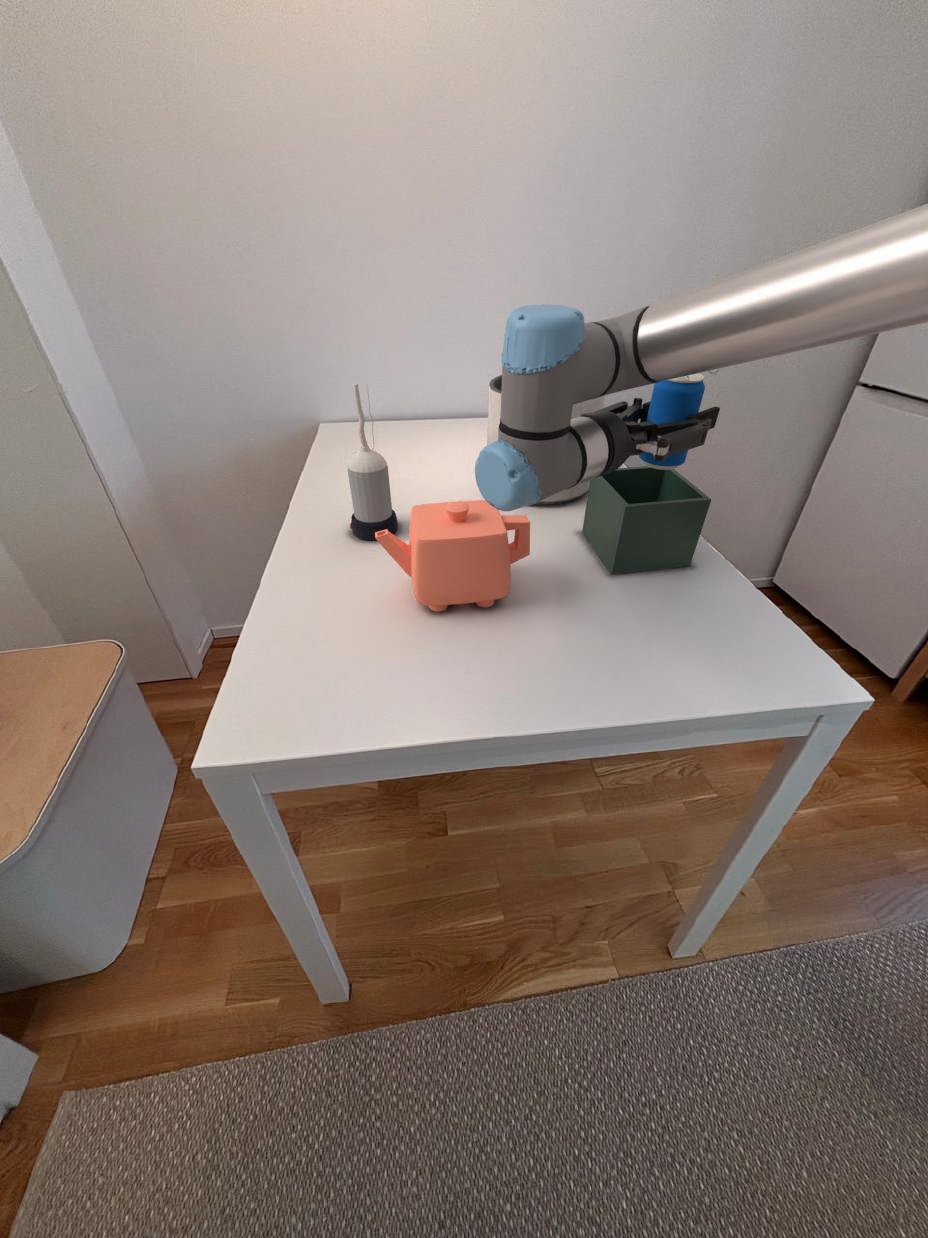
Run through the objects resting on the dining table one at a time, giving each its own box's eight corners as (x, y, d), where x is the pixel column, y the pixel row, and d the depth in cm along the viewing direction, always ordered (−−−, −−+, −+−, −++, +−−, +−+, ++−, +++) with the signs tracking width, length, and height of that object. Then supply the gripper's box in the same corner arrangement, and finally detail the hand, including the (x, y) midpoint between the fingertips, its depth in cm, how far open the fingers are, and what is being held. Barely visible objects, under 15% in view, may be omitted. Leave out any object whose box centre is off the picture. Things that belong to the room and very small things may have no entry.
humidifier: (346, 525, 95) (322, 381, 80) (387, 515, 98) (372, 374, 83) (361, 545, 90) (339, 394, 74) (405, 533, 93) (392, 386, 77)
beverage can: (678, 455, 78) (700, 369, 71) (688, 472, 73) (713, 382, 66) (634, 454, 79) (652, 368, 71) (641, 471, 74) (661, 381, 66)
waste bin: (690, 566, 84) (711, 499, 77) (611, 574, 82) (625, 506, 75) (652, 526, 95) (668, 464, 87) (581, 533, 93) (591, 470, 85)
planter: (607, 478, 111) (625, 378, 99) (563, 519, 97) (577, 408, 84) (517, 457, 121) (523, 363, 108) (465, 491, 106) (465, 388, 94)
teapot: (384, 622, 73) (372, 534, 64) (382, 573, 83) (371, 491, 74) (535, 608, 75) (544, 521, 67) (516, 562, 85) (521, 481, 76)
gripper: (528, 455, 71) (631, 420, 83) (646, 504, 60) (747, 455, 71) (532, 398, 67) (641, 369, 78) (662, 439, 55) (767, 398, 66)
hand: (691, 410), depth 74 cm, fingers closed on beverage can, 6 cm apart
